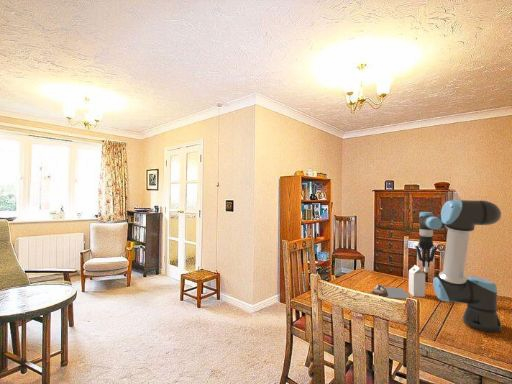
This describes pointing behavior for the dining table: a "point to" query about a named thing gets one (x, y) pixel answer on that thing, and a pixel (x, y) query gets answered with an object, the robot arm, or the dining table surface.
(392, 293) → the mat
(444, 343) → the dining table surface
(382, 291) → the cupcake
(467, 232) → the robot arm
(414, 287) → the milk carton
